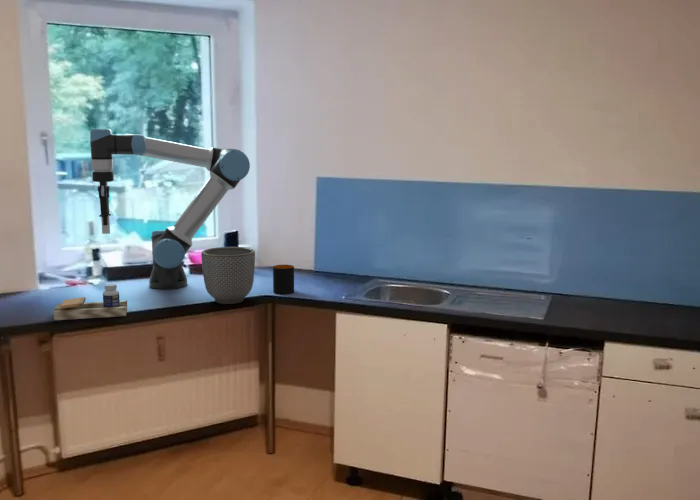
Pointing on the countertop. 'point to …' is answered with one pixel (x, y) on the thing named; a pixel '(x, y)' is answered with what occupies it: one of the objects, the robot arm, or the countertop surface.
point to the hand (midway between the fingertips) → (106, 233)
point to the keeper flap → (73, 302)
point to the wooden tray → (89, 311)
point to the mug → (283, 279)
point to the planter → (228, 273)
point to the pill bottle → (111, 296)
